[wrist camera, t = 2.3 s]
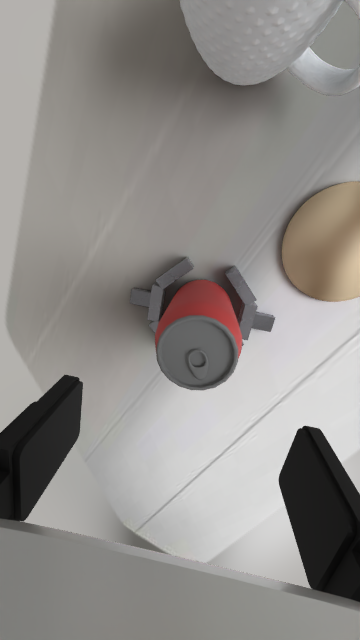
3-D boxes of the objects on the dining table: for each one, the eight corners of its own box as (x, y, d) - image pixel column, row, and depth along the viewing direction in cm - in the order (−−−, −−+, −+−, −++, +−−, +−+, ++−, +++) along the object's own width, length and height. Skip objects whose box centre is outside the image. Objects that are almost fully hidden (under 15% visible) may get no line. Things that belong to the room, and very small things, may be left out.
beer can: (177, 339, 30) (159, 401, 18) (166, 284, 28) (138, 316, 17) (234, 331, 29) (251, 392, 17) (226, 273, 27) (240, 300, 16)
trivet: (424, 194, 23) (430, 193, 22) (373, 309, 26) (376, 311, 26) (302, 173, 23) (304, 171, 23) (267, 288, 27) (269, 290, 26)
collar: (285, 275, 26) (291, 278, 24) (257, 363, 30) (261, 371, 28) (138, 247, 27) (133, 248, 25) (128, 336, 30) (122, 342, 28)
